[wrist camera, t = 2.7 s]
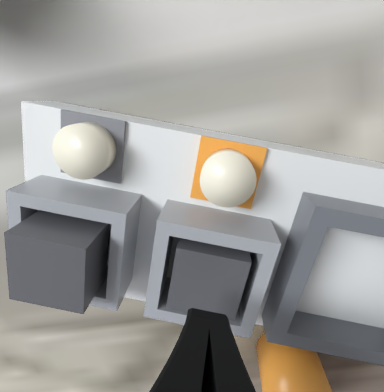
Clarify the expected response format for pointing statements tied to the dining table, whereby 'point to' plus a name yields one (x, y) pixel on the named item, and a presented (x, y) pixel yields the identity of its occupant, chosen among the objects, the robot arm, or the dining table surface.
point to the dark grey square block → (208, 278)
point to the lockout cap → (290, 369)
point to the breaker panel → (218, 219)
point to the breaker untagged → (56, 260)
